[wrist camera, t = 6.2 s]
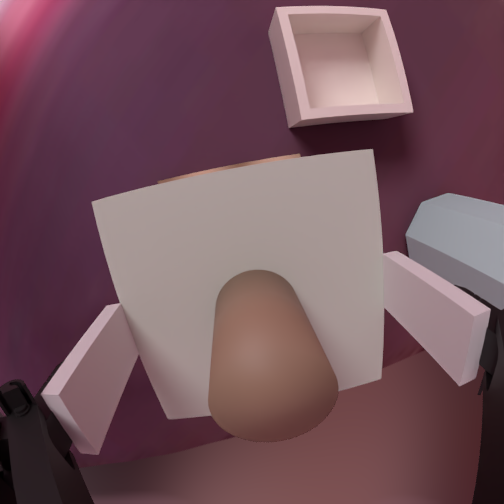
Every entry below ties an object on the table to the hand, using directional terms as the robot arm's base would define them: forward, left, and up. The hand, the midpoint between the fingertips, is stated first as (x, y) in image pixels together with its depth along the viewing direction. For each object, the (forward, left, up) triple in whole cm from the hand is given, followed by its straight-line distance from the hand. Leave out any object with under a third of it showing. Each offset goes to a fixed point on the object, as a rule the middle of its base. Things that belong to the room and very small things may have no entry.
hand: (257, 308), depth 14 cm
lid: (0, 0, -1) cm, 1 cm away
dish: (+11, +14, -16) cm, 24 cm away
